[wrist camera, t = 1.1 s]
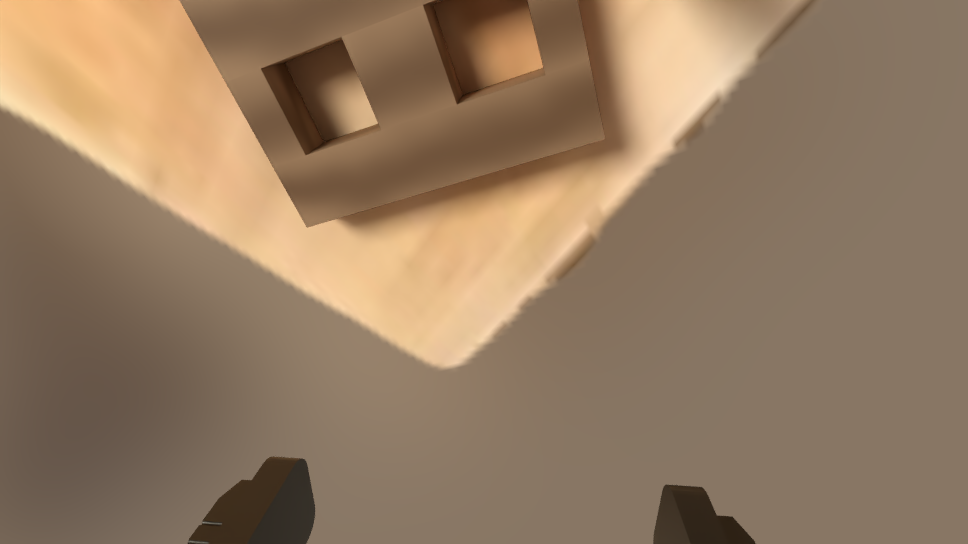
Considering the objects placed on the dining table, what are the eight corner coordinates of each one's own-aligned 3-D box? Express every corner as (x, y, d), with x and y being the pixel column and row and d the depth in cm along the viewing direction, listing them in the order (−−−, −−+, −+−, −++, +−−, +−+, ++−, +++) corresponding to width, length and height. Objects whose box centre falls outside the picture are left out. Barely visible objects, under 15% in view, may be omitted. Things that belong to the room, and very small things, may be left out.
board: (210, -2, 27) (178, -2, 25) (541, -149, 23) (544, -168, 20) (323, 210, 34) (306, 227, 31) (598, 126, 29) (605, 139, 27)
